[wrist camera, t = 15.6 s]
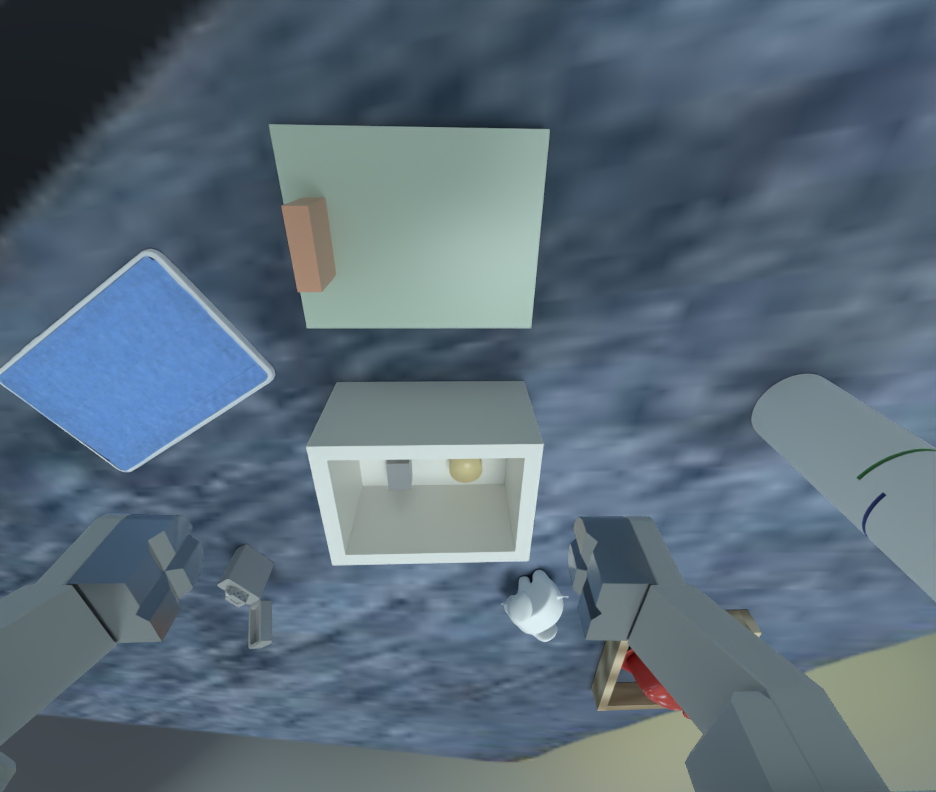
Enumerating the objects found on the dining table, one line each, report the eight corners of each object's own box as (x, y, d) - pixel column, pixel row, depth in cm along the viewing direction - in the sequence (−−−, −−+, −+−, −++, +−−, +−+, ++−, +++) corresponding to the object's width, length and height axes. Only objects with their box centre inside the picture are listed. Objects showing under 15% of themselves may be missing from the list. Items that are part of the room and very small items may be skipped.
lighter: (234, 550, 46) (197, 621, 40) (245, 543, 46) (209, 614, 39) (284, 583, 50) (258, 654, 43) (295, 577, 49) (270, 648, 42)
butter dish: (672, 611, 56) (705, 683, 48) (724, 640, 59) (762, 710, 52) (606, 652, 60) (628, 723, 53) (658, 677, 64) (685, 746, 57)
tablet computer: (132, 469, 41) (123, 478, 40) (-2, 370, 35) (-17, 378, 34) (283, 371, 36) (278, 378, 35) (157, 240, 31) (146, 244, 30)
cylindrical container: (737, 434, 41) (1056, 759, 19) (776, 368, 37) (1221, 675, 16) (804, 443, 42) (1181, 763, 20) (849, 379, 38) (1364, 685, 17)
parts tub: (336, 381, 36) (306, 446, 29) (524, 381, 37) (543, 444, 29) (353, 488, 43) (332, 565, 35) (514, 485, 43) (528, 561, 35)
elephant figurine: (487, 578, 50) (491, 628, 45) (547, 551, 48) (558, 600, 43) (516, 607, 53) (523, 656, 48) (573, 582, 51) (587, 631, 46)
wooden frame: (614, 613, 55) (622, 636, 52) (747, 609, 55) (761, 632, 53) (591, 687, 64) (597, 710, 62) (705, 684, 65) (716, 706, 62)
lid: (278, 125, 27) (240, 121, 22) (544, 129, 28) (564, 127, 23) (313, 319, 34) (290, 350, 29) (527, 319, 35) (540, 350, 30)
